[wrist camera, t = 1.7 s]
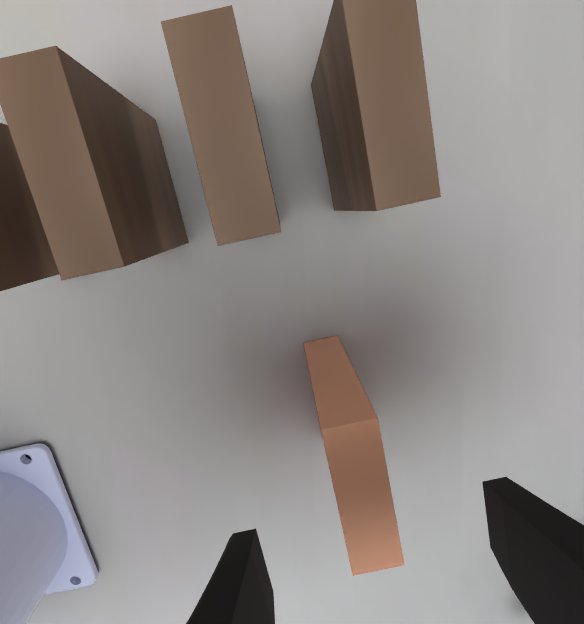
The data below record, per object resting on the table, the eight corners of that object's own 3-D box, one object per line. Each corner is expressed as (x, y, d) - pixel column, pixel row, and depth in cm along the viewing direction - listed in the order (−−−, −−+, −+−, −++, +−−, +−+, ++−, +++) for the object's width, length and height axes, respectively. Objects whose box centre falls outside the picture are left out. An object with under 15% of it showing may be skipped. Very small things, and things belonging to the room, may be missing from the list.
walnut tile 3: (243, 230, 18) (217, 246, 11) (213, 106, 17) (160, 21, 9) (279, 222, 18) (281, 232, 11) (252, 98, 17) (232, 5, 9)
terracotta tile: (324, 438, 21) (352, 575, 13) (303, 342, 20) (321, 429, 12) (356, 431, 21) (404, 564, 13) (337, 335, 20) (377, 418, 12)
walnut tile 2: (152, 250, 18) (61, 280, 11) (117, 128, 17) (-15, 62, 9) (188, 242, 18) (123, 266, 11) (155, 119, 17) (56, 45, 9)
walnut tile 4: (334, 210, 18) (376, 210, 10) (310, 84, 17) (339, -20, 9) (371, 202, 18) (440, 196, 10) (350, 76, 17) (411, -36, 9)
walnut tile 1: (62, 270, 18) (-94, 314, 11) (21, 150, 17) (-188, 101, 10) (98, 262, 18) (-32, 300, 11) (59, 141, 17) (-119, 85, 10)
